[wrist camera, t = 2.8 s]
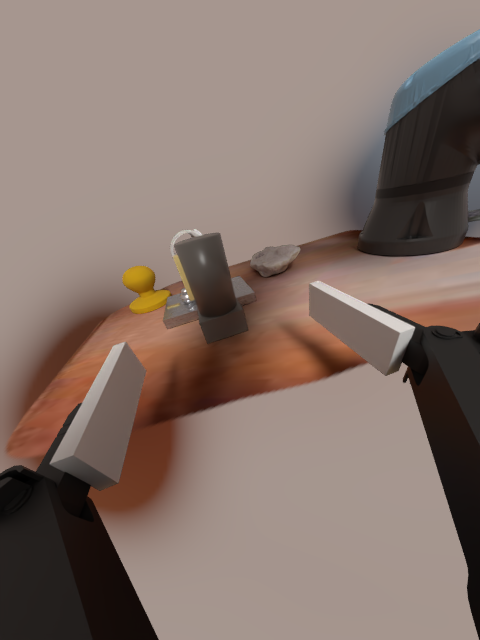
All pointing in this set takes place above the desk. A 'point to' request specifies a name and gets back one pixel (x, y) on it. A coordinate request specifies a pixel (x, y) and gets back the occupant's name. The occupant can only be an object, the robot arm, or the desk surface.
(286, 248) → the fossil
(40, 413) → the desk surface
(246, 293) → the hub plate
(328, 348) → the desk surface
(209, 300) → the cylinder
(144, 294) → the yellow stacked oval discs
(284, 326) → the desk surface
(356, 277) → the desk surface
